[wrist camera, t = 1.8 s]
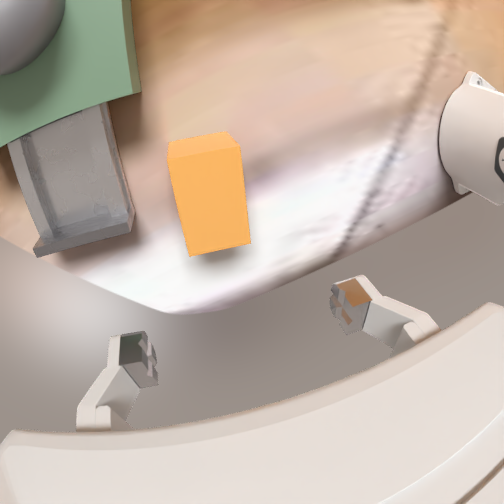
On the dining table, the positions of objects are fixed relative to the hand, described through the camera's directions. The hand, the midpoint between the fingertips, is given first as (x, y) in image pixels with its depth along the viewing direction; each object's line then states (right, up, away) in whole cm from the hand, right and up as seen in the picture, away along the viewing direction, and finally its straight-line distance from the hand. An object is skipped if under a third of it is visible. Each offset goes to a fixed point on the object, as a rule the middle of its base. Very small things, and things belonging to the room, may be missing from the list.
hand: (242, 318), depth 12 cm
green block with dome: (-17, +20, +2) cm, 26 cm away
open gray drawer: (-16, +10, +9) cm, 21 cm away
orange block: (-4, +9, +14) cm, 17 cm away
